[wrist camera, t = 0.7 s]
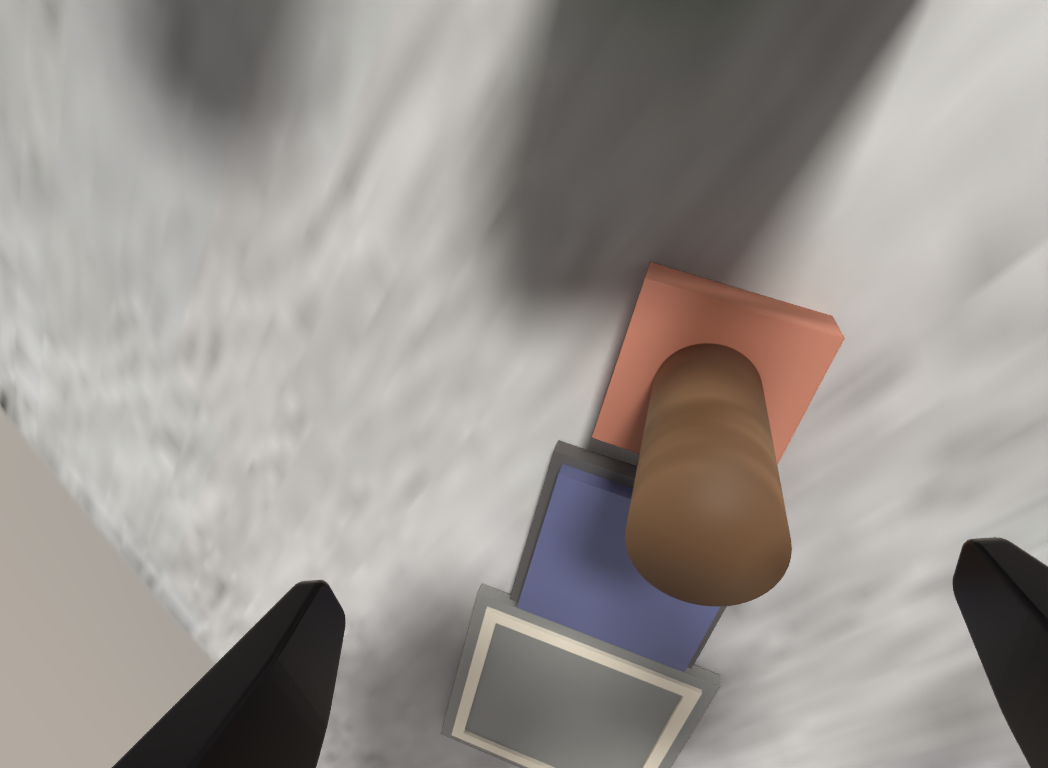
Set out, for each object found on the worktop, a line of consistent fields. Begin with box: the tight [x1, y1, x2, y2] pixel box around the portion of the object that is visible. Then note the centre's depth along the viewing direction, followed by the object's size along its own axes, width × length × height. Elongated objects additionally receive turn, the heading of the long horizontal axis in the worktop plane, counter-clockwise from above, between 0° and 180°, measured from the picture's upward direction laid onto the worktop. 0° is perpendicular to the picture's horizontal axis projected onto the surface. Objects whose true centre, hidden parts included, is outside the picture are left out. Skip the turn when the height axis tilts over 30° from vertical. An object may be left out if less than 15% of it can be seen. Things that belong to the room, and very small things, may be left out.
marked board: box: [441, 584, 720, 768], centre depth 30 cm, size 11×11×1 cm
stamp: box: [592, 262, 844, 607], centre depth 17 cm, size 6×6×10 cm
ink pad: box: [510, 441, 726, 672], centre depth 25 cm, size 8×8×2 cm
